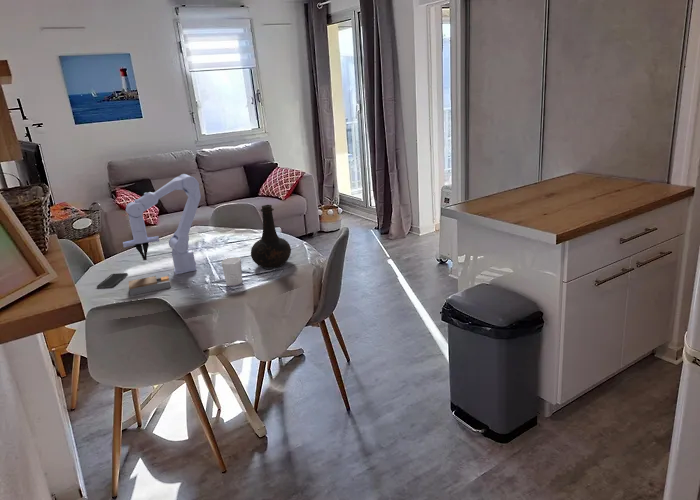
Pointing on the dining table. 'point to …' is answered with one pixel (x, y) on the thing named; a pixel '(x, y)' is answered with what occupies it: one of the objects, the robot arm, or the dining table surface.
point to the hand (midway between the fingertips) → (145, 259)
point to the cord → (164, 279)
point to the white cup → (232, 271)
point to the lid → (142, 282)
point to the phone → (112, 280)
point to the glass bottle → (270, 244)
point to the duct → (151, 287)
